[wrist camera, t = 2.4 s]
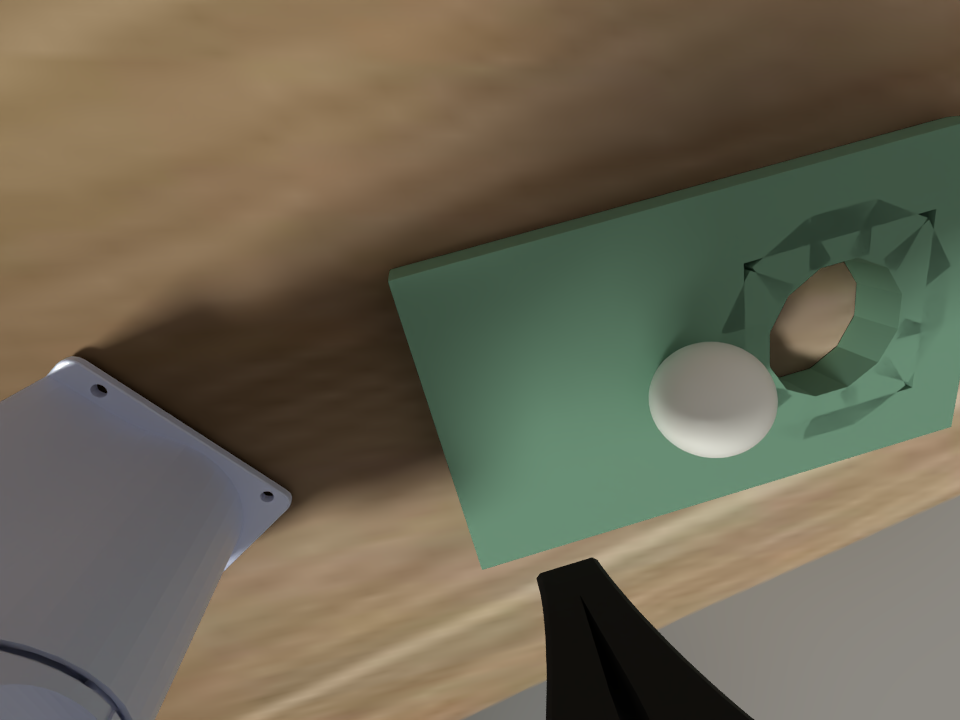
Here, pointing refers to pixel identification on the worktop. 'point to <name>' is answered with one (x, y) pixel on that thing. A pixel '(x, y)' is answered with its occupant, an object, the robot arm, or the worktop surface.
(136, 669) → the robot arm
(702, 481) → the putting mat
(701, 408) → the ball
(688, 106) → the worktop surface
